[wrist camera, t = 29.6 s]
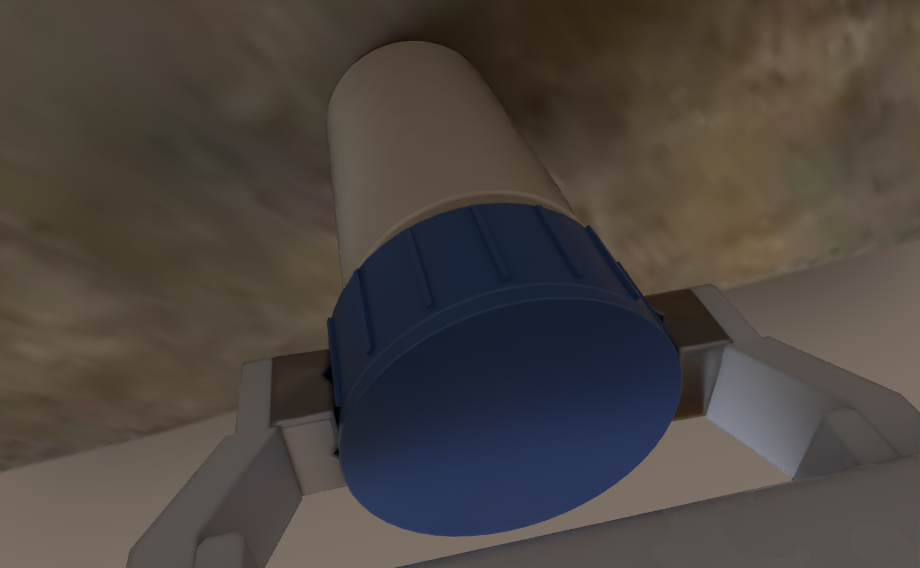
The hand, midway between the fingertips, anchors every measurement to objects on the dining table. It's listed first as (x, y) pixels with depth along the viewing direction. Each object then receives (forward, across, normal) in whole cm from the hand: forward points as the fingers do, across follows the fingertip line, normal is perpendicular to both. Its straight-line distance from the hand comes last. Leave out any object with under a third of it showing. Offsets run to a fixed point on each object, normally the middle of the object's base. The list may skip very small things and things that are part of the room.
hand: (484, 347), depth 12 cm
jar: (+10, 0, 0) cm, 10 cm away
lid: (+1, 0, 0) cm, 1 cm away
